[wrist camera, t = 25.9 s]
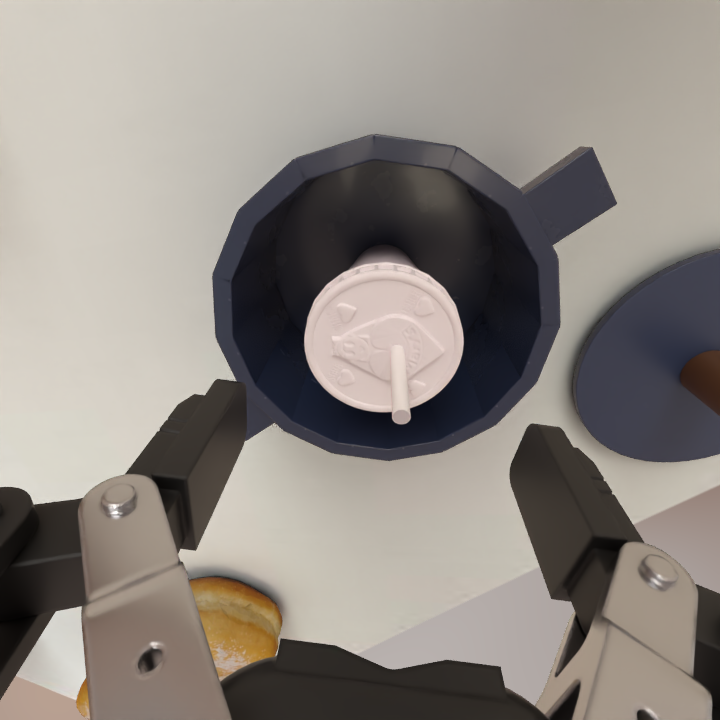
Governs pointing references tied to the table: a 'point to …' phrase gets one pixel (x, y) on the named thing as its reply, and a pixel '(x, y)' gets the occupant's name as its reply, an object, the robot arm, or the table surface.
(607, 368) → the lid
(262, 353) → the pot
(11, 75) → the table surface
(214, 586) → the bread
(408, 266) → the smoothie
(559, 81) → the table surface
